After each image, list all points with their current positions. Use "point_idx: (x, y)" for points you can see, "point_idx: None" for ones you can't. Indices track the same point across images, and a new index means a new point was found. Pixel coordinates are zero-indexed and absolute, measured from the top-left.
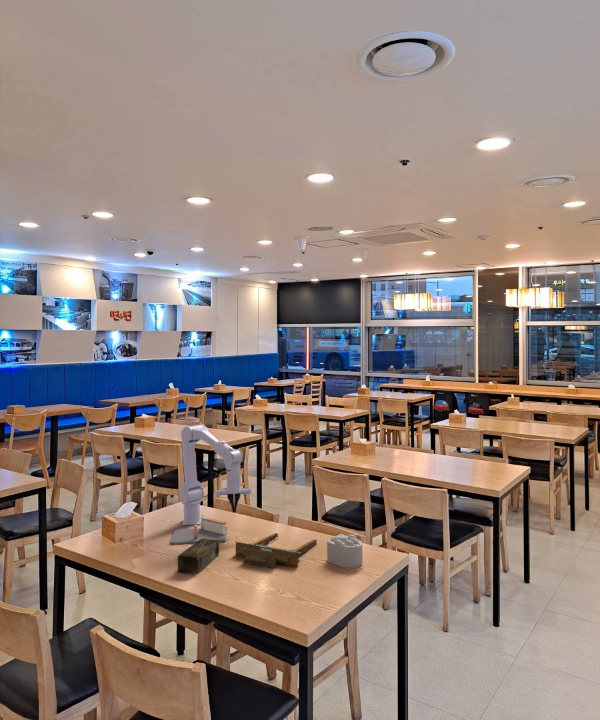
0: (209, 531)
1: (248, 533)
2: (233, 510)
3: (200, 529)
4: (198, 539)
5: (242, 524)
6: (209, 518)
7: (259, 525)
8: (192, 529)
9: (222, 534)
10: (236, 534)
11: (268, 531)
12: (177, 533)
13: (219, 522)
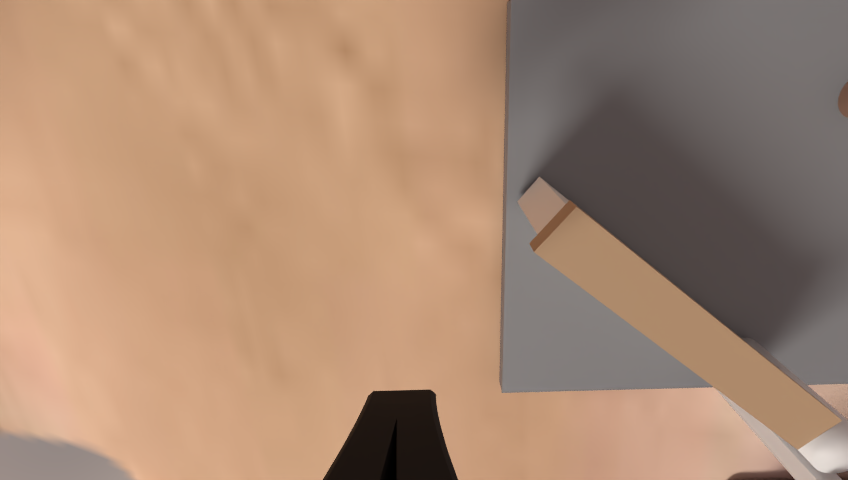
0: None
1: (283, 251)
2: (413, 413)
3: None
4: (843, 47)
5: None
6: (756, 415)
7: (226, 426)
8: (835, 363)
9: None
10: (400, 235)
11: (102, 285)
12: None
13: (634, 252)
